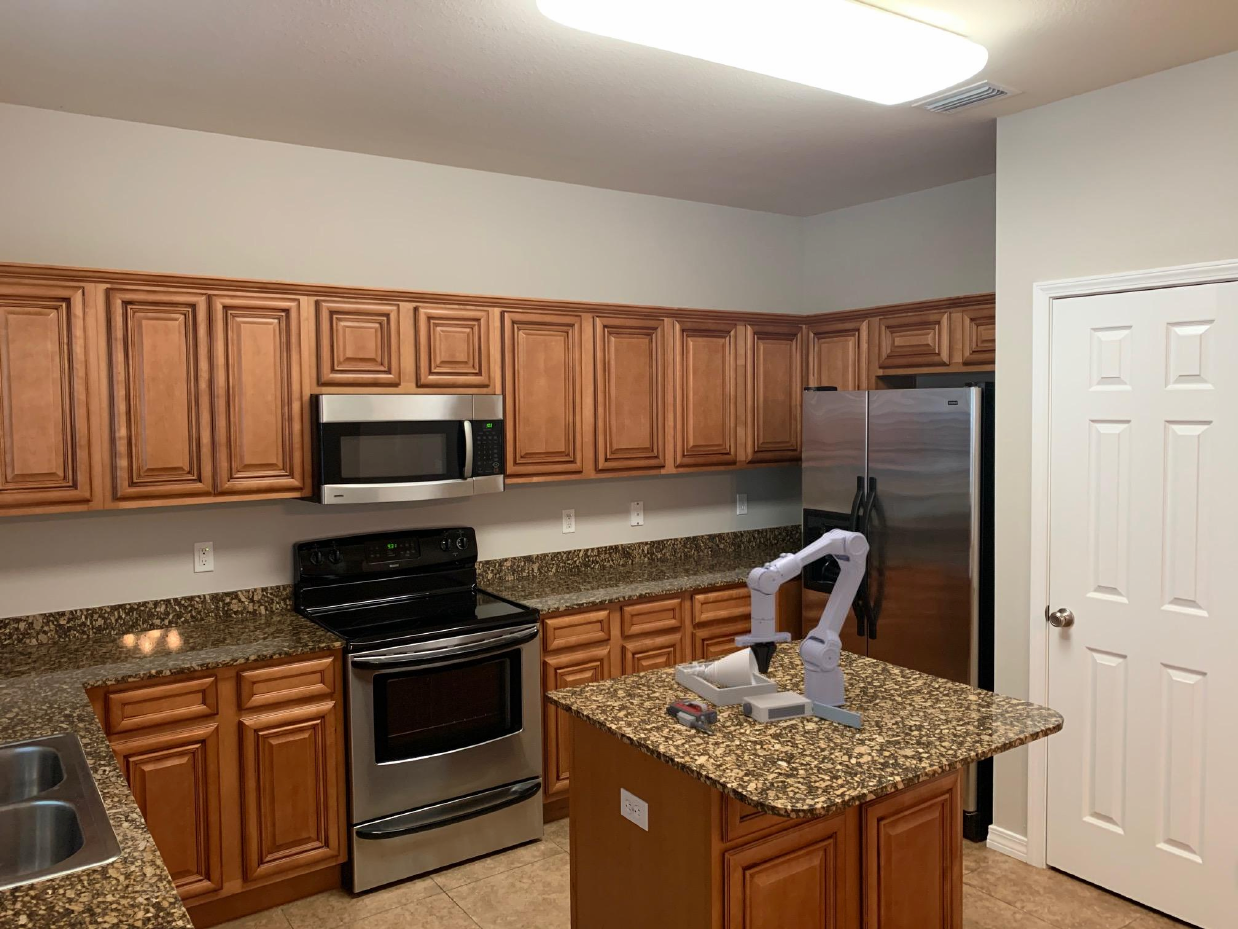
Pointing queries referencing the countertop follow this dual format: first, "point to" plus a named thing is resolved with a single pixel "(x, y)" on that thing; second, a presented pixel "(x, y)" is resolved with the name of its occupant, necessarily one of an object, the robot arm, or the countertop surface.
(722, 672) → the rocket engine
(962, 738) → the countertop surface
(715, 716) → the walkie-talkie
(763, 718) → the white box with knob
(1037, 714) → the countertop surface
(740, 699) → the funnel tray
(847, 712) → the side door
